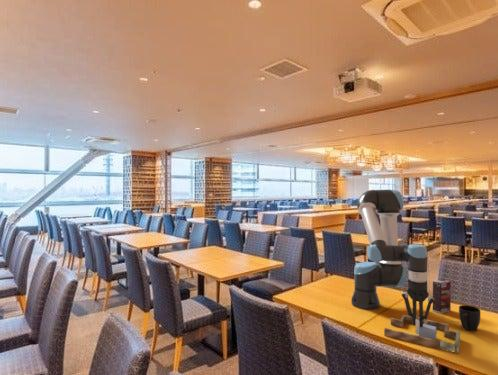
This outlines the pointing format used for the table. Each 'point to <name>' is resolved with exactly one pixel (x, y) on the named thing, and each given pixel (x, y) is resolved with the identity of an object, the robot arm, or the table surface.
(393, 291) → the table surface
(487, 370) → the table surface
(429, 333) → the block
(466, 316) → the mug
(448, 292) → the supplement box
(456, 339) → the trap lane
